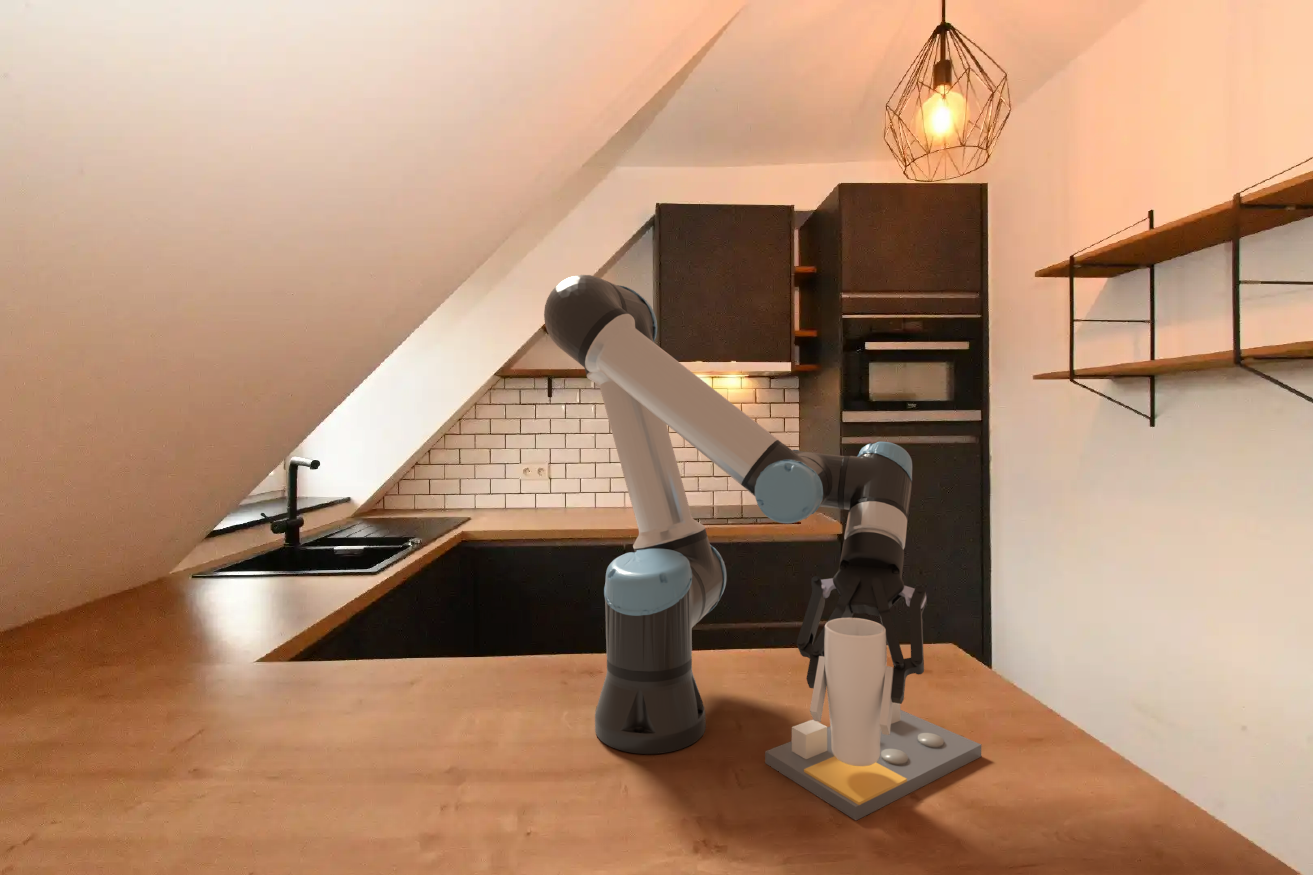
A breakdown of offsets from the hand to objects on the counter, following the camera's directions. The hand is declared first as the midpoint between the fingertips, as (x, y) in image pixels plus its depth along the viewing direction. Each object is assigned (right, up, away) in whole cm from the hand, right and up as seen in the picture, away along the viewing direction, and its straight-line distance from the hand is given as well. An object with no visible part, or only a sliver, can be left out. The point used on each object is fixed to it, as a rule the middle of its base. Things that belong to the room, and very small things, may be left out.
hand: (849, 722), depth 74 cm
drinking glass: (+2, -5, +3) cm, 7 cm away
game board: (+6, -9, +10) cm, 14 cm away
